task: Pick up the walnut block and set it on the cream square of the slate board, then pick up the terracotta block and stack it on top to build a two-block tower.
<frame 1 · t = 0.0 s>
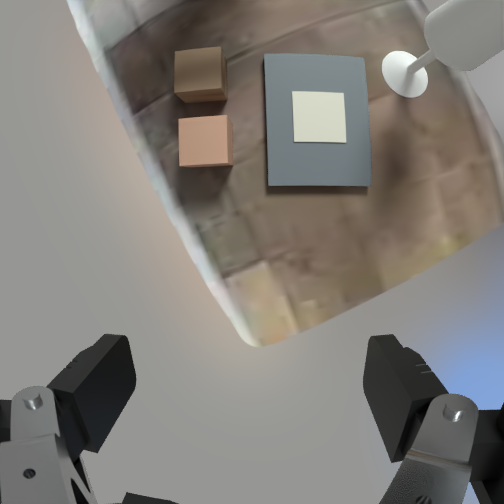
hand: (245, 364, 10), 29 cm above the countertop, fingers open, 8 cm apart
slate board: (317, 118, 35), on the countertop
champagne flute: (404, 74, 33), on the countertop
walnut block: (206, 82, 35), on the countertop
terracotta block: (211, 145, 37), on the countertop
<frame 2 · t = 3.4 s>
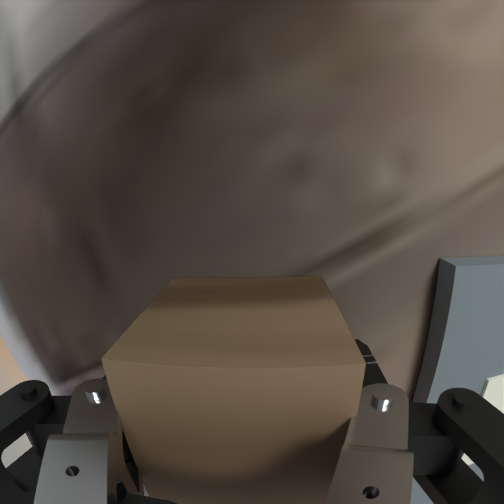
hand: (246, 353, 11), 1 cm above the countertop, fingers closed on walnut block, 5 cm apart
slate board: (499, 402, 12), on the countertop
walnut block: (248, 343, 11), on the countertop, touching gripper
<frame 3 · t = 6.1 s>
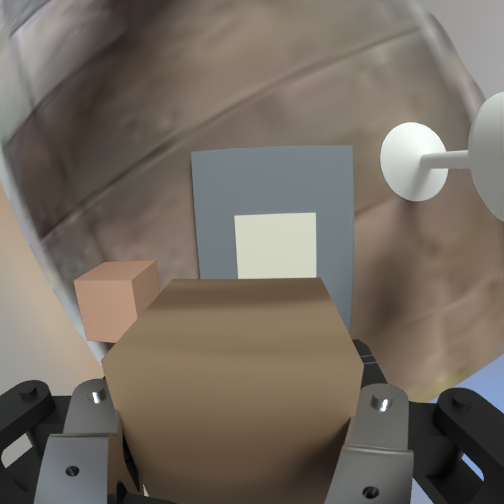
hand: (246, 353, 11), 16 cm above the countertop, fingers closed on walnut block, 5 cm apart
slate board: (276, 249, 26), on the countertop
champagne flute: (415, 161, 24), on the countertop
walnut block: (248, 344, 11), point 15 cm above the countertop, touching gripper
terracotta block: (133, 288, 27), on the countertop
when the fingers open (3 cm above the countertop, at t = 9.0 s): walnut block stays where it is, resting on slate board.
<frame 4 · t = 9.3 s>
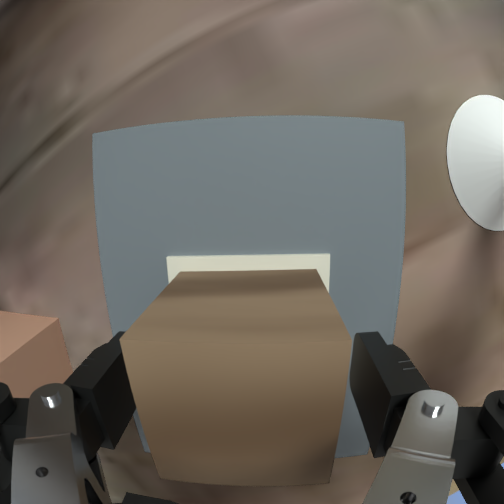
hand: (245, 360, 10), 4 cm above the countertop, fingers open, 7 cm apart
slate board: (251, 317, 14), on the countertop
champagne flute: (496, 162, 12), on the countertop
walnut block: (249, 332, 12), point 1 cm above the countertop, touching slate board
terracotta block: (37, 353, 15), on the countertop
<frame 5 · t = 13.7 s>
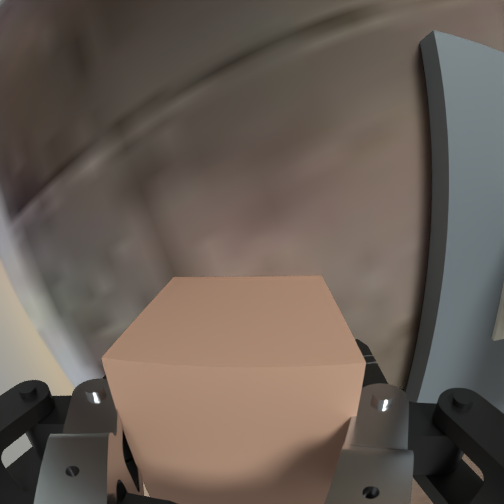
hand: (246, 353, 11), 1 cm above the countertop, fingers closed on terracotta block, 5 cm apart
terracotta block: (248, 343, 11), on the countertop, touching gripper
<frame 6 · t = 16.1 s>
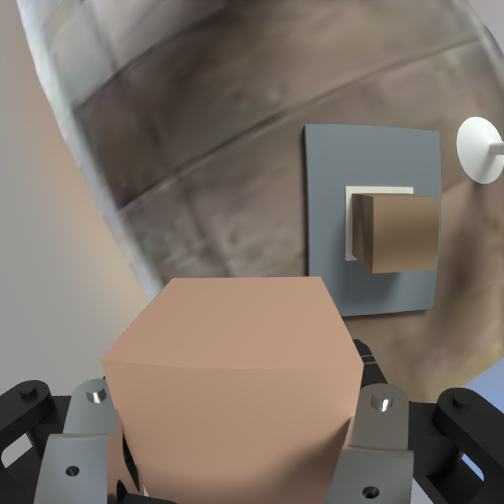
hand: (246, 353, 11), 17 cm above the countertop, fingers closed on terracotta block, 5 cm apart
slate board: (375, 221, 26), on the countertop
champagne flute: (480, 150, 25), on the countertop
walnut block: (381, 223, 25), point 1 cm above the countertop, touching slate board
terracotta block: (247, 343, 11), point 16 cm above the countertop, touching gripper
when the fingers open (9 cm above the countertop, at t = 18.8 s): terracotta block stays where it is, resting on walnut block.
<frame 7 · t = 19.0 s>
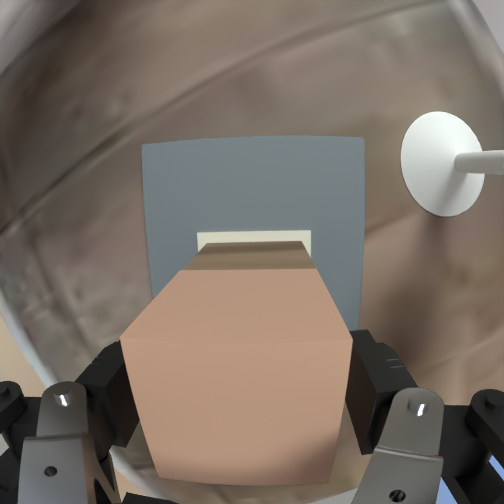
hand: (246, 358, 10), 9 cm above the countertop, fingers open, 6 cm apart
slate board: (255, 278, 19), on the countertop
champagne flute: (444, 163, 17), on the countertop
walnut block: (255, 287, 18), point 1 cm above the countertop, touching slate board, terracotta block
terracotta block: (249, 331, 12), point 7 cm above the countertop, touching walnut block
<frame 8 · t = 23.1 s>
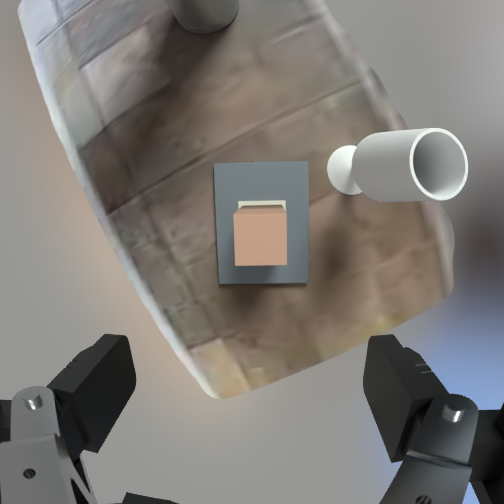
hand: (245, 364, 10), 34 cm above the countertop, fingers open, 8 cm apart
slate board: (262, 222, 43), on the countertop
champagne flute: (351, 170, 41), on the countertop
terracotta block: (261, 230, 37), point 7 cm above the countertop, touching walnut block
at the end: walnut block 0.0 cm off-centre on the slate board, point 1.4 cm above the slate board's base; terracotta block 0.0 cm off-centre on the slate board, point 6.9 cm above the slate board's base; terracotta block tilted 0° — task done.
